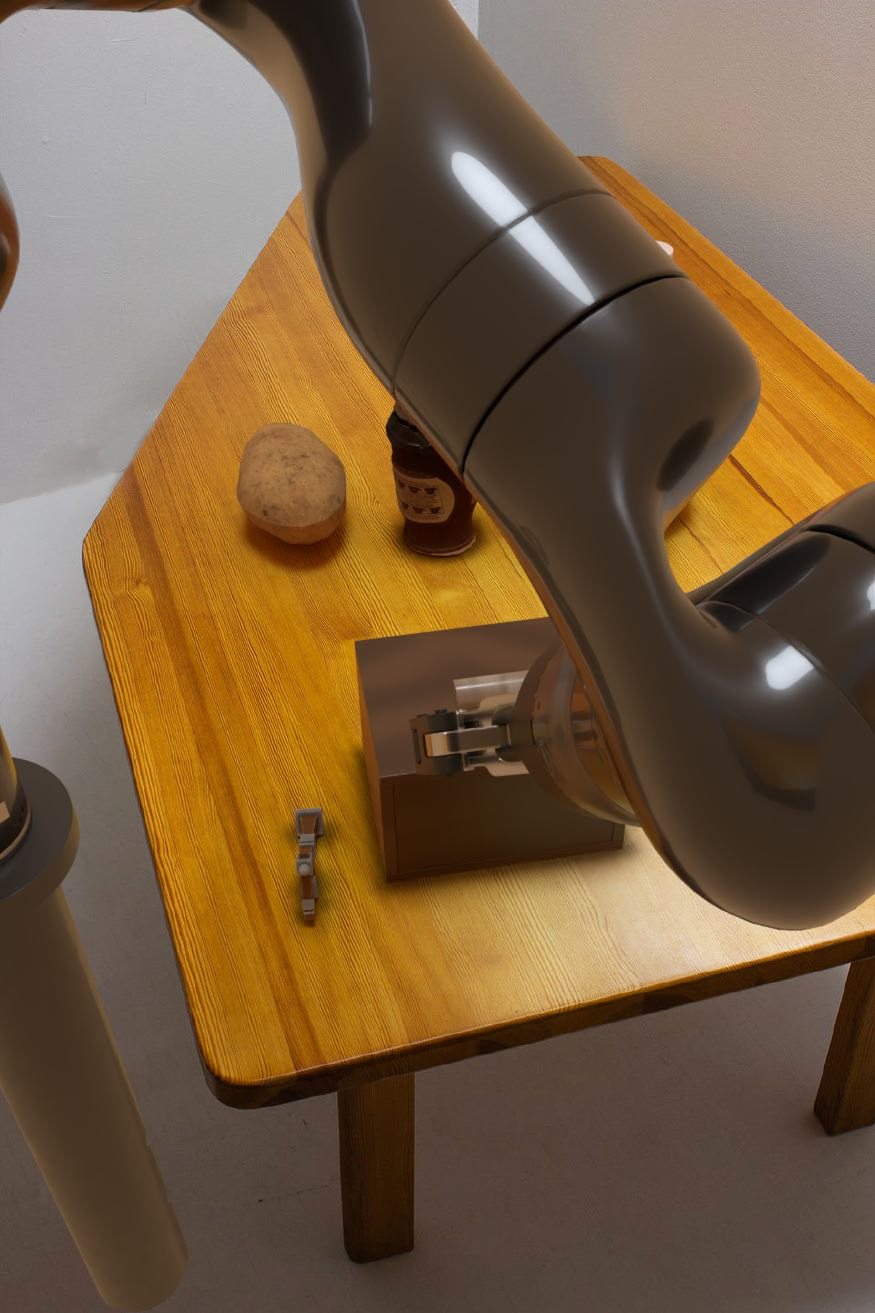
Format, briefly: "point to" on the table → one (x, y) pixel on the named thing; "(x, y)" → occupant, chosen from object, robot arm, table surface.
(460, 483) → the coffee cup
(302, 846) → the wooden post with brackets
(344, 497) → the potato
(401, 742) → the lid
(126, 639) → the table surface
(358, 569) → the table surface
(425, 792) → the wooden storage box
